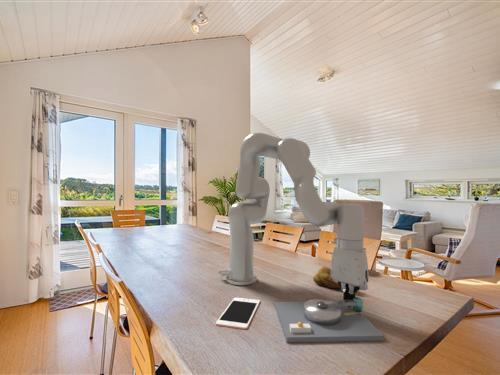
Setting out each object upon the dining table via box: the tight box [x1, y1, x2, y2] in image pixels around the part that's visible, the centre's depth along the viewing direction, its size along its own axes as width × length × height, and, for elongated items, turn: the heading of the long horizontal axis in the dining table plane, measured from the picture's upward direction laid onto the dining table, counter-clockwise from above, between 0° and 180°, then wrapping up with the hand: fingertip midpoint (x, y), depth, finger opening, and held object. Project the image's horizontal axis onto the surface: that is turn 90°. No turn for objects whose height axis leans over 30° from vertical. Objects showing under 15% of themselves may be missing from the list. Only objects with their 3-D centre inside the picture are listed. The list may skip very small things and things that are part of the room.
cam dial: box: [304, 296, 363, 325], centre depth 74 cm, size 17×10×4 cm, turn 101°
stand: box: [274, 301, 385, 343], centre depth 73 cm, size 24×20×3 cm
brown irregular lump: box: [312, 266, 342, 290], centre depth 102 cm, size 13×10×8 cm
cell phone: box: [215, 297, 261, 330], centre depth 78 cm, size 9×18×1 cm, turn 166°
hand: (349, 305), depth 79 cm, fingers closed
